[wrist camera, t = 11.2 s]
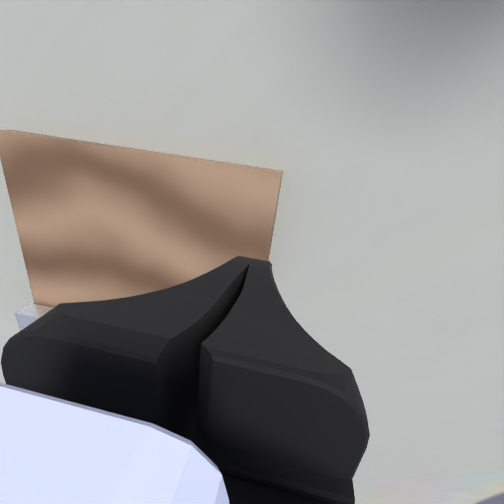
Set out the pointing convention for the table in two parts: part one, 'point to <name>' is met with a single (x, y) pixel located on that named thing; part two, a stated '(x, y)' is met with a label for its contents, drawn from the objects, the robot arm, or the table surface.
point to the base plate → (129, 216)
